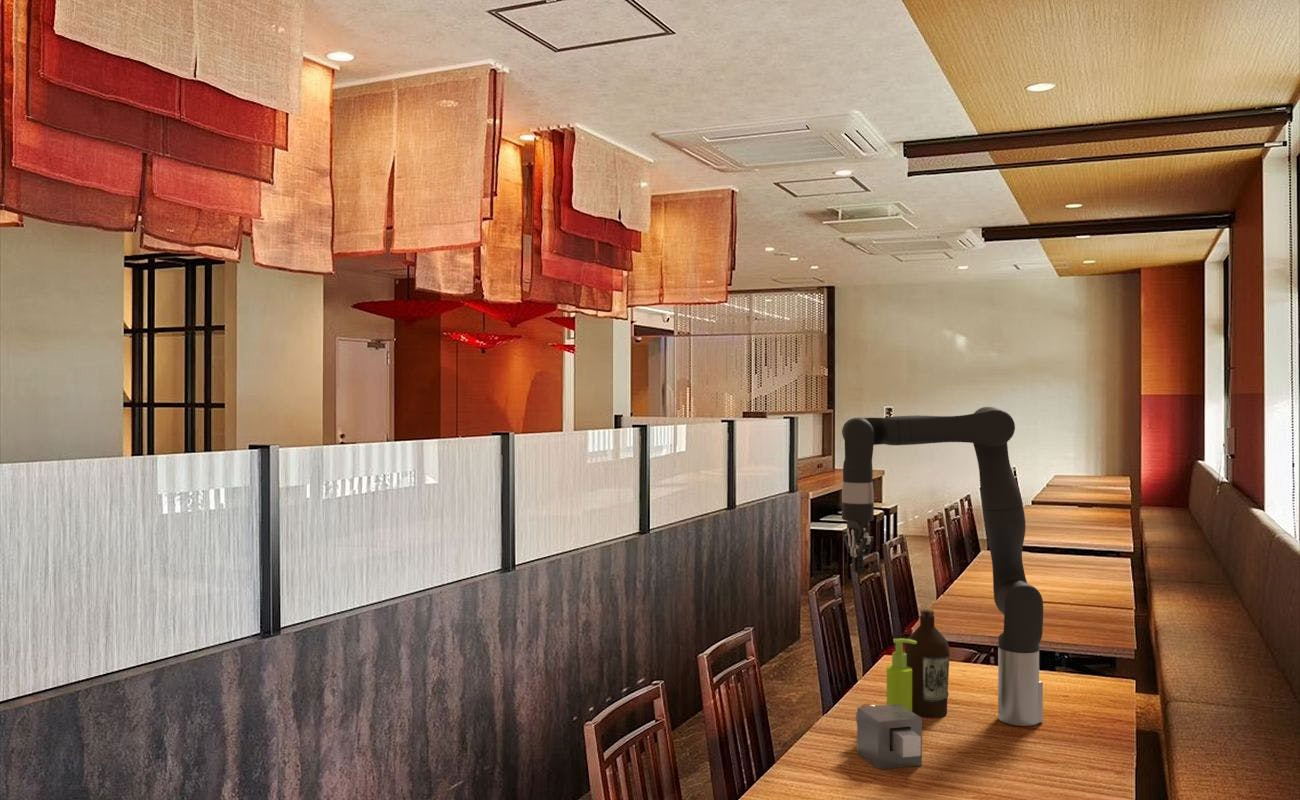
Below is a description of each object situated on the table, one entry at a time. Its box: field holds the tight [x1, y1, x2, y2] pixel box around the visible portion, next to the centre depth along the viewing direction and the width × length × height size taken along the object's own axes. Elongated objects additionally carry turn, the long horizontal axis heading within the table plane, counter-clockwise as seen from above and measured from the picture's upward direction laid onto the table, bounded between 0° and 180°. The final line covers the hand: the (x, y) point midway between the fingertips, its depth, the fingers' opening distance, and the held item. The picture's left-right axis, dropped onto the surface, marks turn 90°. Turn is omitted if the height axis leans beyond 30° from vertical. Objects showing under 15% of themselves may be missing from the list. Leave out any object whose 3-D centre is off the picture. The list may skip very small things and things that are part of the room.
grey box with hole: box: [856, 704, 923, 771], centre depth 222 cm, size 10×10×10 cm
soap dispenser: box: [886, 637, 917, 712], centre depth 246 cm, size 6×7×20 cm
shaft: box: [855, 703, 921, 757], centre depth 222 cm, size 6×20×6 cm, turn 14°
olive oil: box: [904, 609, 951, 719], centre depth 255 cm, size 11×11×25 cm
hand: (857, 572), depth 251 cm, fingers closed
